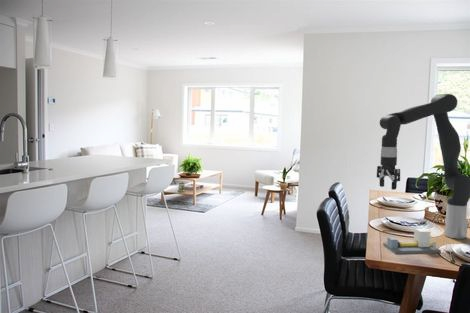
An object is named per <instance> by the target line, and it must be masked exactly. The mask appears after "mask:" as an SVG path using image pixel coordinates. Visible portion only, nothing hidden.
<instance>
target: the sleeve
mask: <svg viewBox="0 0 470 313" xmlns="http://www.w3.org/2000/svg"><path fill="white" fill-rule="evenodd" d="M413 242H418V247H430V242H431V231H430V230H428V229H427V228H414V230H413Z"/></svg>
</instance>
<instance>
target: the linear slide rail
mask: <svg viewBox="0 0 470 313" xmlns="http://www.w3.org/2000/svg"><path fill="white" fill-rule="evenodd" d="M386 241H387V242H383V243H382V244H383V246H384V247H385V248H386V249H388V250H390V251H391V252H392V253H393V254H396V255H397V254H398V255H399V254H434V253H435V254H437V253H438V254H440V253H442V249H440V248H438V247H437V241H436V240H432V241H430V247H418V242H414V241H411V242H408V241H405V242H404V241H403V242H400V241H399V239H397V238H396V237H394V236H387V240H386Z"/></svg>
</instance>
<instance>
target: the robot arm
mask: <svg viewBox="0 0 470 313" xmlns="http://www.w3.org/2000/svg"><path fill="white" fill-rule="evenodd" d="M457 106H458V99H457V96H456V95H454V94H451V93H444V94H443V93H441V94H440V93H439V94H435V95H434V96H433V97H432V98H431V100H430V102H429V103H424V104H421V105H416V106H412V107H408V108H407V109H406V108H405V109H404V110H400V111H397V112H393V113H390V114H385V115H383V116H382V117H381V118H380V120H379V126H380V128H382V129H383V130H386V133H385V134H383V135H382V137H381V149H380V165H377V167H376V178H378V180H379V187H381V188H384V187H385V178H386V177H388V178H389V179H390V180H391V190H393V191H394V190H396V189H397V185H398V184H397V182H400V181H401V169H400V168H396V166H397V164H398V163H397V162H398V160H397V159H398V148H397V147H398V136H399V133H400V130H401V126H402V125H408V124H411V123H414V122H416V121H419V120H422V119H424V118H427V117H430V116H433V118H434V121H435V124H436V126H435V127H436V129H437V136H438V140H439V148H440V151H441V158H442V163H443V169H444V182H445V183H444V184H445V186H446V187H447V189H449V190H451V191H453V193H452V196H449V197H447V200H446V212H445V213H446V214H445V225H444V227H445V228H444V236H445V237H448V238H451V239H455V240H456V239H457V240H458V239H459V240H462V239H467V234H468V222H469V220H468V219H467V210H468V209H467V208H468V202H469V201H470V177H469V176H468V175H466V174H462V173H460V171H459V165H458V161H459V158H460V157H459V156H460V154H461V151H462V150H461V148H462V147H461V140H460V136H459V133H458V132H457V130H456V129H455V127H454V126H453V125H452V123H451V121H450V118H449V116H448V115H449V114H448V113H450V112H452V111H454V110H455V109H456V108H457Z"/></svg>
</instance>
